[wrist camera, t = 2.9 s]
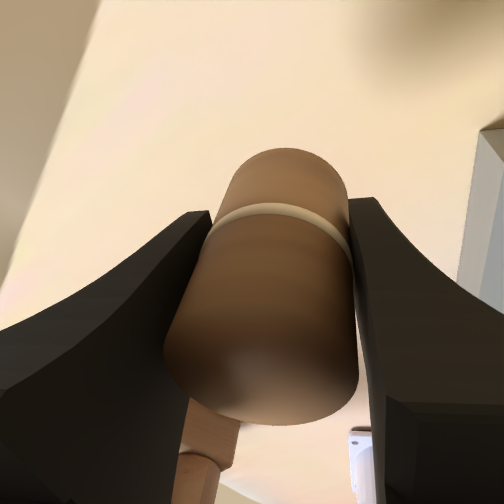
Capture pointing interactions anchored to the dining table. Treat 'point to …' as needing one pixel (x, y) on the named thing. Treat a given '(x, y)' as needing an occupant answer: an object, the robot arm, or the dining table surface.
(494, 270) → the board
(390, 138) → the dining table surface
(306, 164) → the peg
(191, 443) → the wooden block
